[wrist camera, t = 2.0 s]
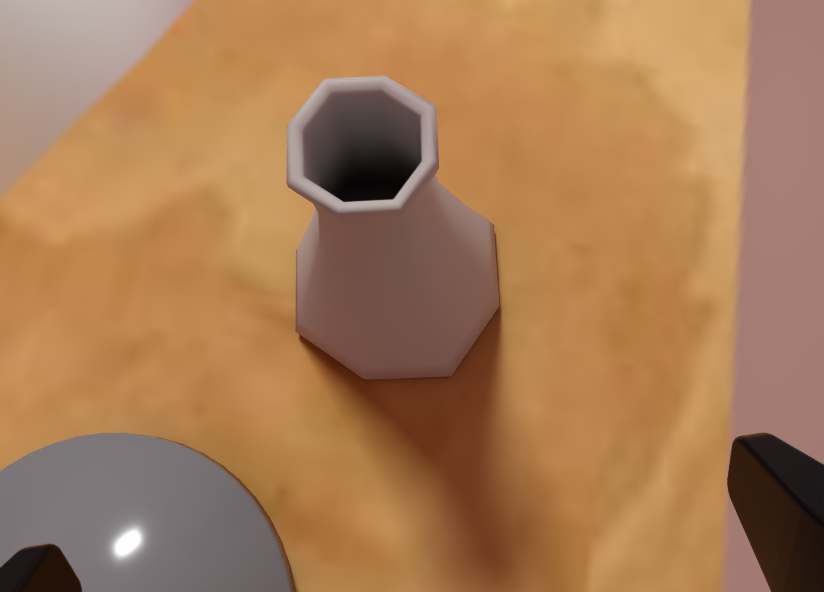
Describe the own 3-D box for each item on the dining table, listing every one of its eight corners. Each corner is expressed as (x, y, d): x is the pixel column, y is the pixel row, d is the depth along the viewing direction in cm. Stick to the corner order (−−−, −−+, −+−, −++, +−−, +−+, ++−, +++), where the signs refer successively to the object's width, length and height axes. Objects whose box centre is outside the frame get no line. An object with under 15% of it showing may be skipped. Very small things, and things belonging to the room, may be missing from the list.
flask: (329, 161, 24) (253, -42, 15) (524, 211, 23) (580, 29, 14) (263, 351, 23) (128, 263, 13) (471, 411, 22) (491, 364, 12)
